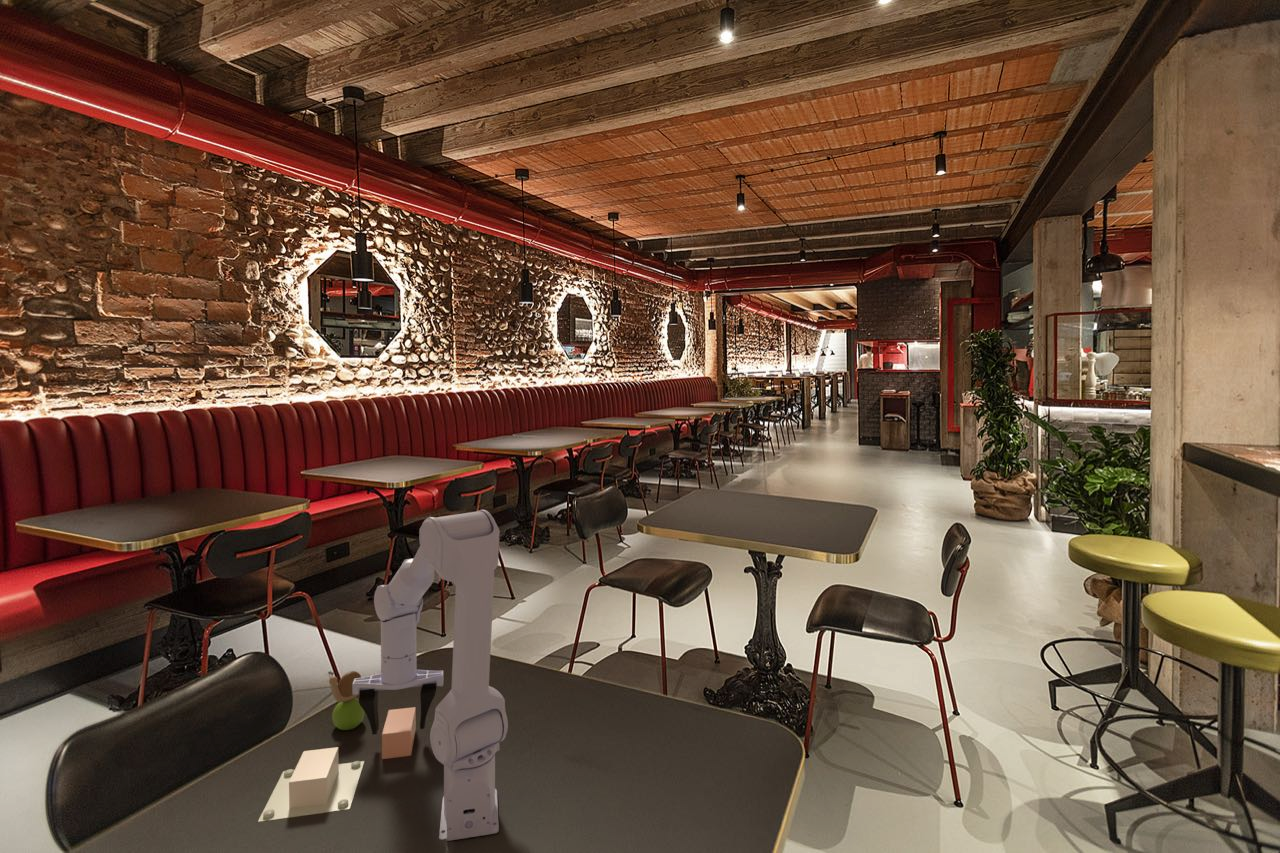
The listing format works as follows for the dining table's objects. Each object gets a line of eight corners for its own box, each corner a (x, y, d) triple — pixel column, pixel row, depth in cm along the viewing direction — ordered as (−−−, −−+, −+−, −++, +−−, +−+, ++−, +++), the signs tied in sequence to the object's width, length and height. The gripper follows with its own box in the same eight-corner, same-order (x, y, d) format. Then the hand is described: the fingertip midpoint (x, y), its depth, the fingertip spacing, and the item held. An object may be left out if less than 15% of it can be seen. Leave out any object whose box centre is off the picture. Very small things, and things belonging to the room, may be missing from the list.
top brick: (411, 759, 105) (410, 730, 104) (382, 763, 103) (382, 734, 103) (415, 734, 112) (415, 707, 112) (388, 737, 111) (388, 710, 111)
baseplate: (349, 812, 91) (349, 806, 91) (257, 825, 88) (257, 819, 88) (364, 764, 103) (364, 758, 103) (283, 774, 100) (283, 768, 100)
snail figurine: (320, 734, 111) (319, 668, 111) (351, 717, 117) (351, 655, 116) (340, 742, 109) (339, 675, 108) (371, 725, 115) (371, 661, 114)
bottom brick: (326, 803, 92) (326, 777, 92) (289, 808, 91) (288, 782, 91) (338, 771, 100) (338, 747, 100) (304, 775, 99) (303, 751, 98)
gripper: (444, 639, 112) (444, 712, 113) (357, 646, 109) (358, 721, 110) (442, 655, 106) (442, 733, 107) (349, 663, 102) (350, 743, 103)
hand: (399, 728), depth 108 cm, fingers open, 7 cm apart
